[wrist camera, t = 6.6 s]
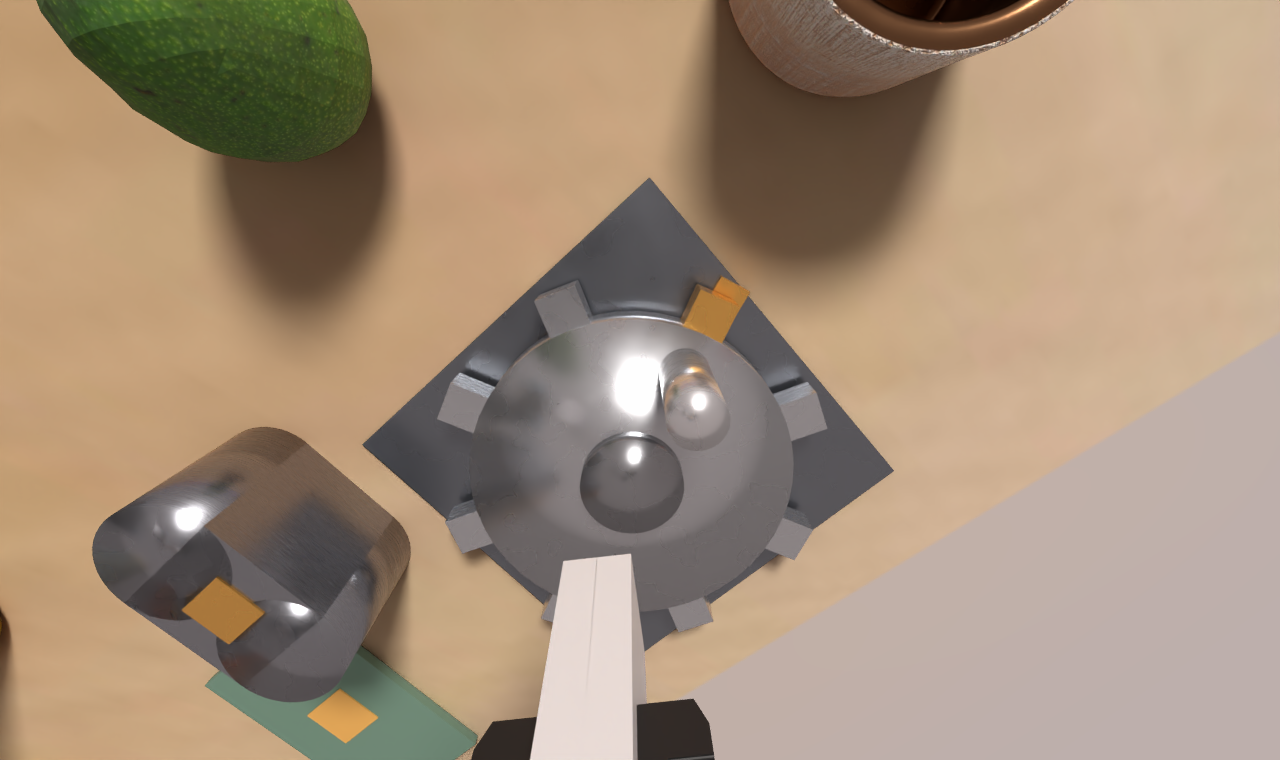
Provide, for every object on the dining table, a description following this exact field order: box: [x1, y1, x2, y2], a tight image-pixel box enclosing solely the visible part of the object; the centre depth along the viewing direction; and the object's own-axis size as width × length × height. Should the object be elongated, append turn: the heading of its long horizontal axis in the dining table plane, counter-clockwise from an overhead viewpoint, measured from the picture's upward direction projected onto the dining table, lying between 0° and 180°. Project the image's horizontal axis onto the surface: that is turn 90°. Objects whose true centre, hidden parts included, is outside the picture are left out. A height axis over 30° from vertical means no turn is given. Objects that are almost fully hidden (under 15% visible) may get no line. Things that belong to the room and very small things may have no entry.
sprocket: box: [437, 280, 827, 632], centre depth 28 cm, size 20×20×8 cm
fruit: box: [36, 0, 372, 162], centre depth 20 cm, size 8×8×12 cm
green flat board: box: [205, 646, 478, 760], centre depth 37 cm, size 14×8×1 cm, turn 42°
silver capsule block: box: [92, 427, 410, 702], centre depth 29 cm, size 12×6×8 cm, turn 42°
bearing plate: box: [363, 178, 894, 651], centre depth 32 cm, size 20×20×1 cm
